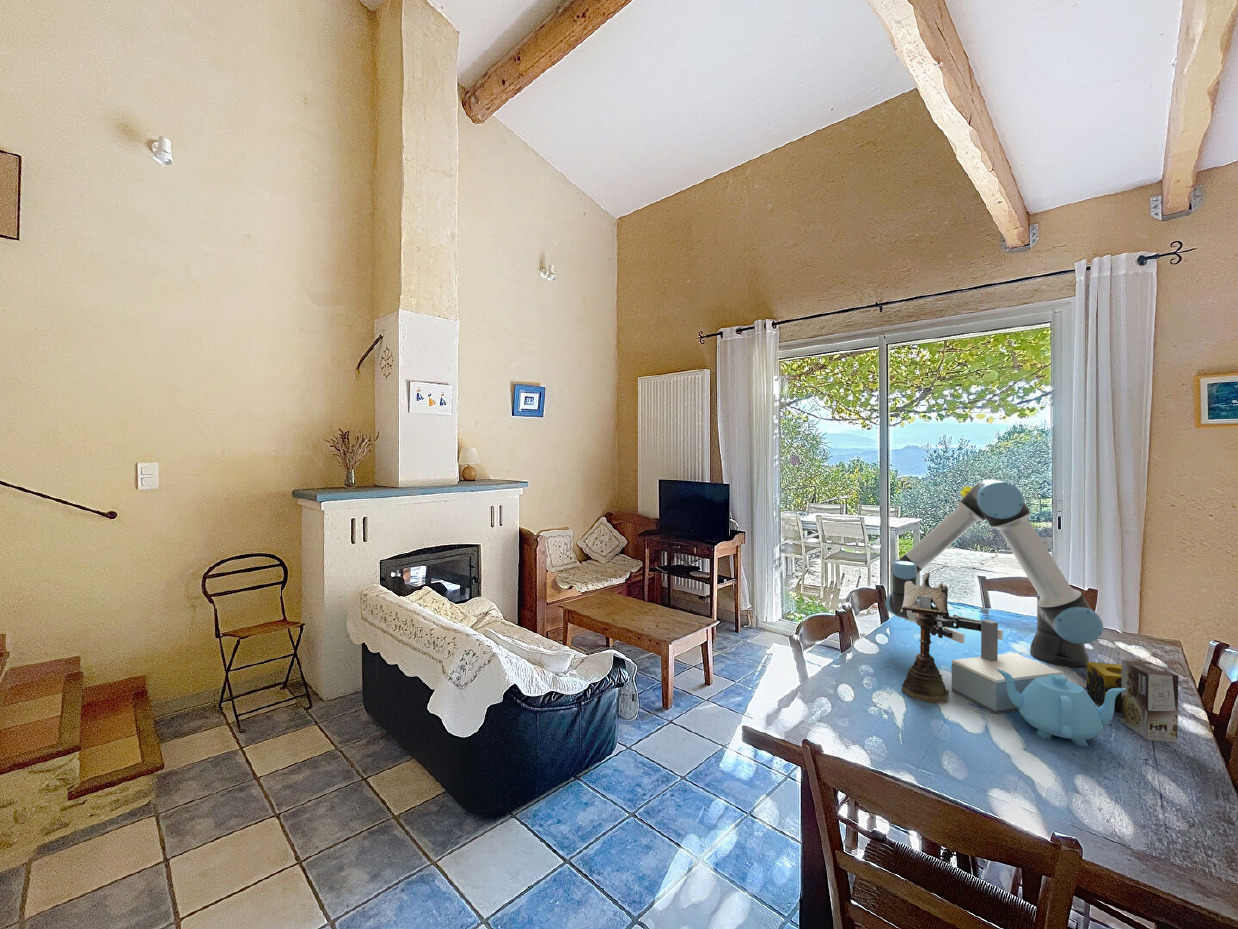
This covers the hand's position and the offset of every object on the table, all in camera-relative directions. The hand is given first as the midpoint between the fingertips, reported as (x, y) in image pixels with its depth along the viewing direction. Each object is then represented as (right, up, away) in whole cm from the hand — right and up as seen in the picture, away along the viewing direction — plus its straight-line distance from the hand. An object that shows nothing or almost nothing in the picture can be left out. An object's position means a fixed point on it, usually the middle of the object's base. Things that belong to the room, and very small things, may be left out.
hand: (982, 637), depth 155 cm
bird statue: (-20, -15, -6) cm, 25 cm away
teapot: (+1, -16, -24) cm, 29 cm away
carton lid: (+2, -7, -6) cm, 9 cm away
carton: (+2, -15, -6) cm, 16 cm away
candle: (+29, -15, -11) cm, 35 cm away
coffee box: (+24, -16, -25) cm, 38 cm away
